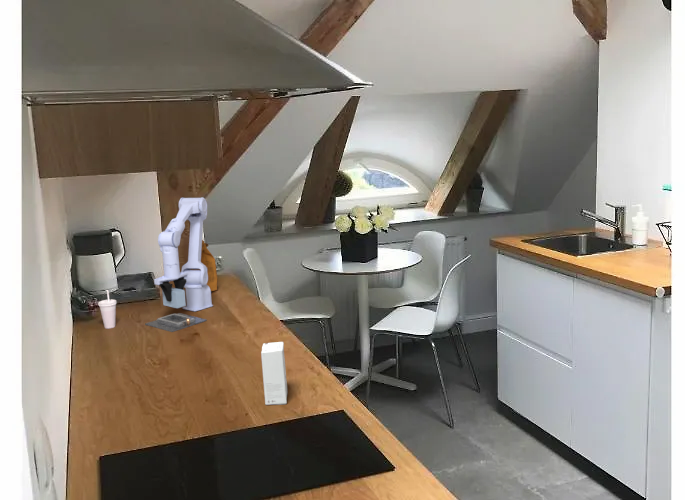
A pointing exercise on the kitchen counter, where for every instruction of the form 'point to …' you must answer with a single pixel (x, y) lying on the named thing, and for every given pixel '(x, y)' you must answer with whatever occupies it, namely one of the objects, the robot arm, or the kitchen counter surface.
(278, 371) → the skincare box
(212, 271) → the coffee package
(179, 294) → the light blue block
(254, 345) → the kitchen counter surface
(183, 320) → the pocket plate
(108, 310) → the smoothie
